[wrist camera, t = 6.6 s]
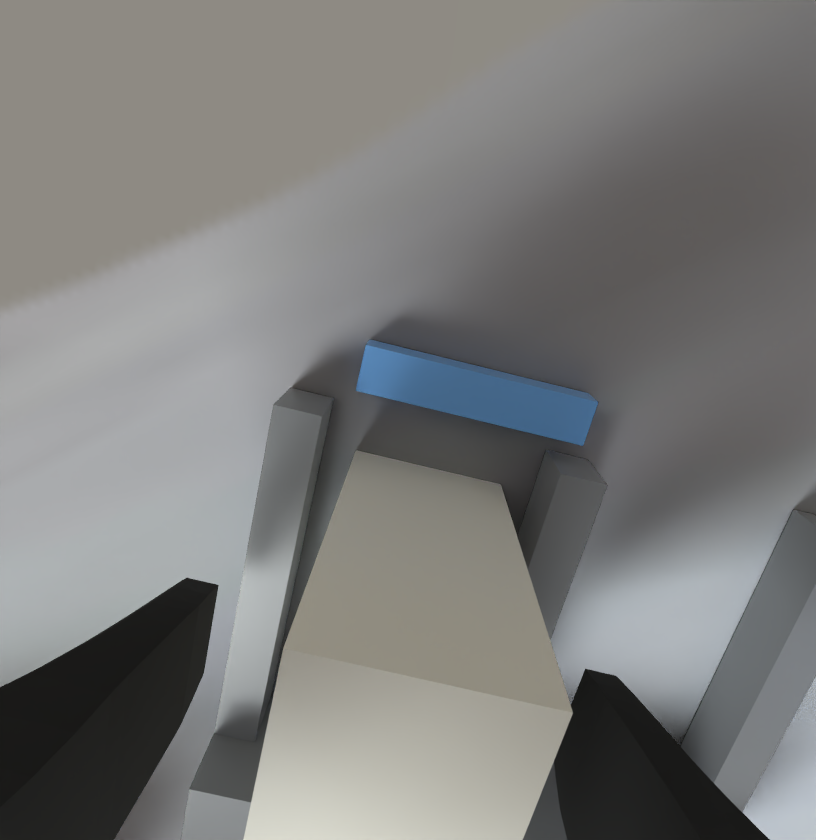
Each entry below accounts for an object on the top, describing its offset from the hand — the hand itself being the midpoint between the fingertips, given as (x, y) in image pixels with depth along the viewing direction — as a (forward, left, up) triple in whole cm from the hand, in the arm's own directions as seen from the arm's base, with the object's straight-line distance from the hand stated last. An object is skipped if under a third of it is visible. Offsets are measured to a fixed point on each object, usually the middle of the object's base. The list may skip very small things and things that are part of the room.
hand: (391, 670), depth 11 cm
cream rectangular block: (0, 0, -3) cm, 4 cm away
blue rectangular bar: (0, -5, -3) cm, 6 cm away
